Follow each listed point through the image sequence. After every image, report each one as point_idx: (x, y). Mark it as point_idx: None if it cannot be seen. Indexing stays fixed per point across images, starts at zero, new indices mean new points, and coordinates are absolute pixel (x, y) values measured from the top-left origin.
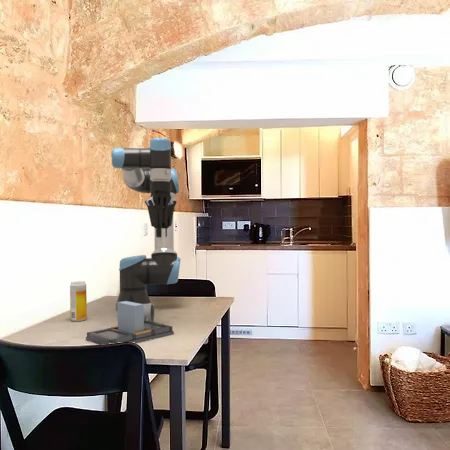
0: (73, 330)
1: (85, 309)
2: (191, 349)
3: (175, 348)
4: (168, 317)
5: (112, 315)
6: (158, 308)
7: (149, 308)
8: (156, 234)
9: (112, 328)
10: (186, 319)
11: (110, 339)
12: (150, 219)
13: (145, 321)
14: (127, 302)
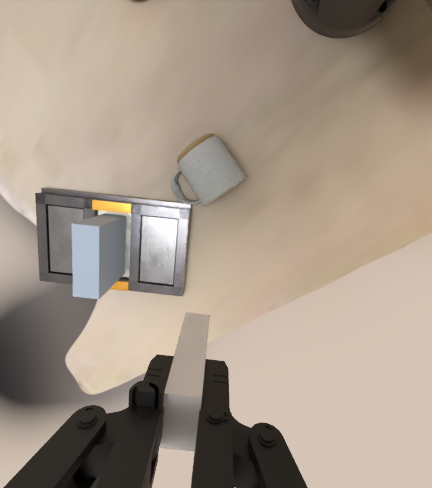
0: (67, 85)
1: None
2: (131, 376)
3: (119, 355)
4: (298, 171)
5: (236, 8)
6: (387, 46)
7: (206, 202)
8: (147, 370)
9: (91, 208)
10: (302, 225)
11: (40, 275)
12: (13, 484)
13: (180, 215)
14: (88, 247)
